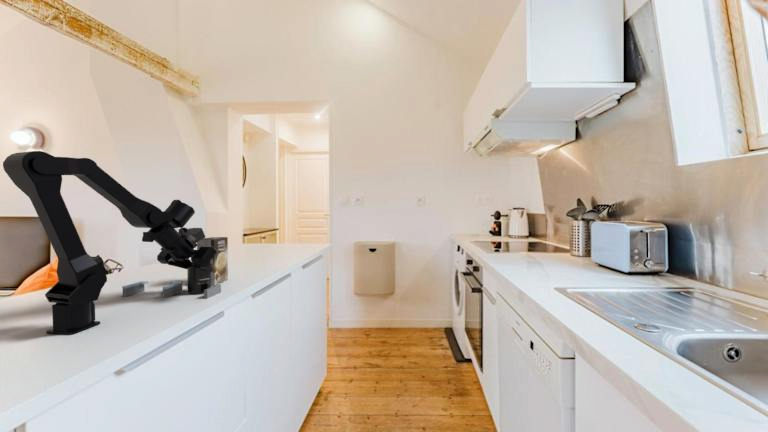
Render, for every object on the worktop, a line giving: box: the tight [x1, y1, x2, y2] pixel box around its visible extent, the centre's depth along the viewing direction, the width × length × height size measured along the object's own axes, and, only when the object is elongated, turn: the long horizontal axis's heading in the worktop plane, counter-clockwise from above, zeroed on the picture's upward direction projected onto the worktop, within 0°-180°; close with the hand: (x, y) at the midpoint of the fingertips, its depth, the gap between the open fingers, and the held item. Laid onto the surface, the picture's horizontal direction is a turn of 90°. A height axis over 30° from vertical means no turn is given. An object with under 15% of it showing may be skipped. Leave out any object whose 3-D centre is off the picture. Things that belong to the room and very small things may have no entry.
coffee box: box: [196, 236, 229, 287], centre depth 117 cm, size 9×6×16 cm
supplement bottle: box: [186, 257, 213, 295], centre depth 104 cm, size 7×7×12 cm
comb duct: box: [121, 280, 222, 299], centre depth 101 cm, size 7×27×3 cm, turn 85°
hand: (203, 270), depth 105 cm, fingers closed on supplement bottle, 7 cm apart
